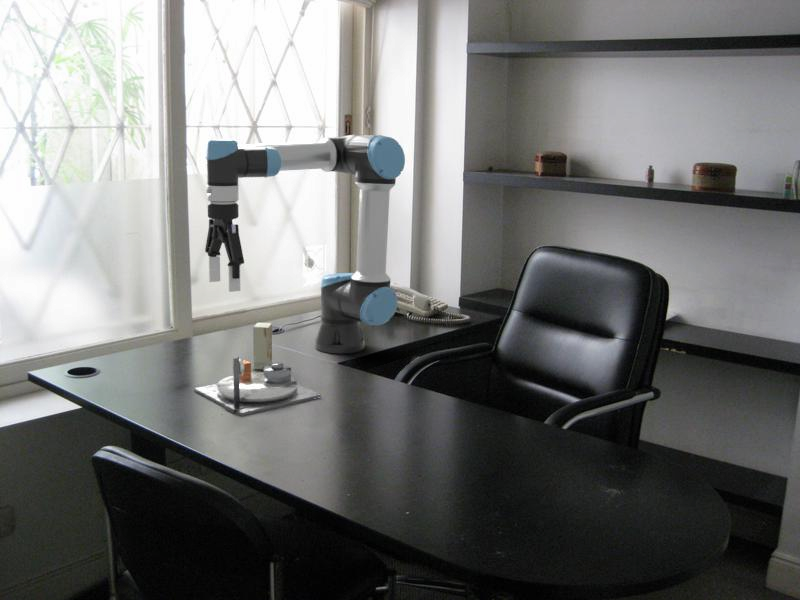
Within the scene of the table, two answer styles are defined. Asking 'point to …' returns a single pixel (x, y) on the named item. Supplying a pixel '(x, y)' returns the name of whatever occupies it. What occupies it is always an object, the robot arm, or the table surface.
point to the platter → (255, 387)
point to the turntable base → (255, 407)
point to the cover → (277, 373)
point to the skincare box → (262, 345)
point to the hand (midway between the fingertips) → (224, 286)
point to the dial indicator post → (236, 385)
